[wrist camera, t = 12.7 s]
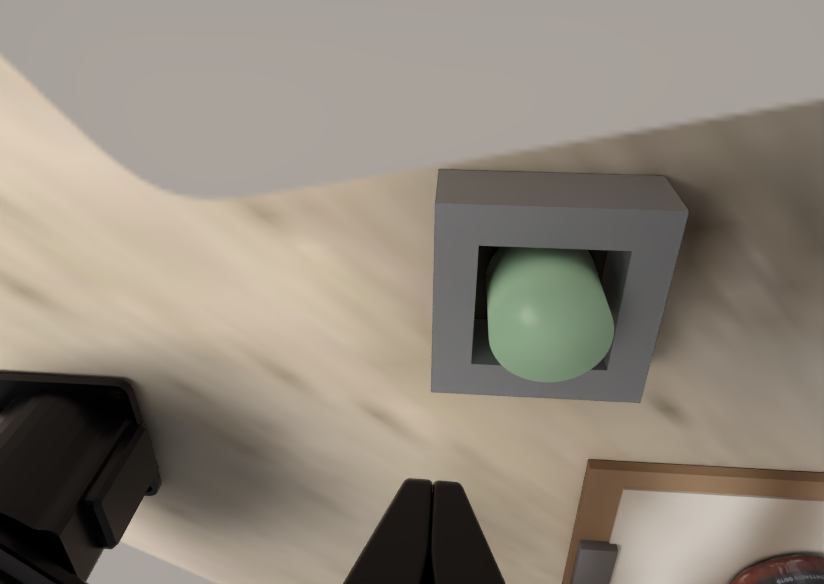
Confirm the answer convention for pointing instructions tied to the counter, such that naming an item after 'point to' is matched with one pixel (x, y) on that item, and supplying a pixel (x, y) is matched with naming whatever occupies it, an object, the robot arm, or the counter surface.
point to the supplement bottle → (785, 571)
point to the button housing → (565, 229)
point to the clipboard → (690, 522)
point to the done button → (547, 312)
